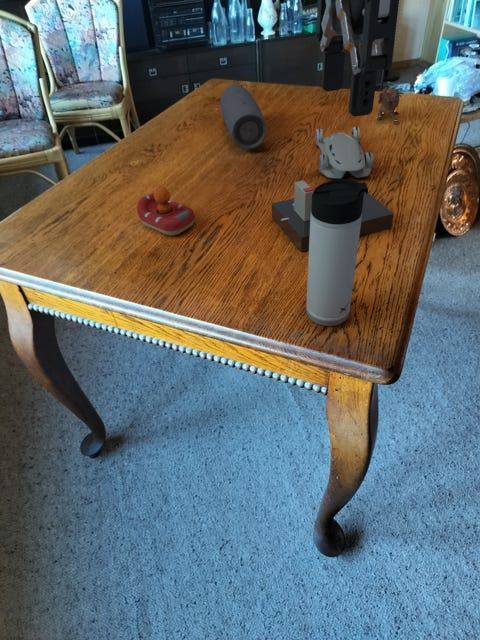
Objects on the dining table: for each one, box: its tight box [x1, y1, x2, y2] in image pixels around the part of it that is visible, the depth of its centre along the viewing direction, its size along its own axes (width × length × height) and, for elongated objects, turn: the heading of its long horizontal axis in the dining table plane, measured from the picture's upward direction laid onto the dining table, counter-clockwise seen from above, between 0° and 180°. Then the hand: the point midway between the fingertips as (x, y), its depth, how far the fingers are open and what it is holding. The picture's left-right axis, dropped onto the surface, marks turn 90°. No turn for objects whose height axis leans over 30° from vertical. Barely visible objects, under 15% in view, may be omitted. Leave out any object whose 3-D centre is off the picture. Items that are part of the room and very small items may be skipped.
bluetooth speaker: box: [219, 84, 268, 150], centre depth 117 cm, size 23×9×10 cm, turn 9°
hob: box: [271, 192, 395, 253], centre depth 86 cm, size 19×13×3 cm
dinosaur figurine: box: [376, 84, 405, 125], centre depth 120 cm, size 14×6×9 cm, turn 163°
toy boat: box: [136, 186, 196, 237], centre depth 88 cm, size 8×12×8 cm, turn 51°
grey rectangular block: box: [293, 179, 315, 222], centre depth 82 cm, size 4×2×6 cm, turn 19°
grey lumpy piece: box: [314, 126, 374, 180], centre depth 105 cm, size 11×24×5 cm, turn 178°
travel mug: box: [305, 178, 369, 327], centre depth 62 cm, size 6×7×20 cm
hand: (345, 101), depth 49 cm, fingers open, 8 cm apart
